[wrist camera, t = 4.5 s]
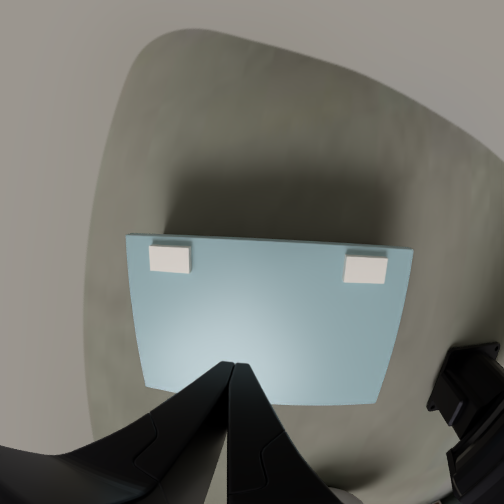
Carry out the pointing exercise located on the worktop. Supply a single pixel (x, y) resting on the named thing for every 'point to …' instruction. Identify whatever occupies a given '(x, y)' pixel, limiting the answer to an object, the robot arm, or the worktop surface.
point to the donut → (345, 496)
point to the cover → (268, 312)
